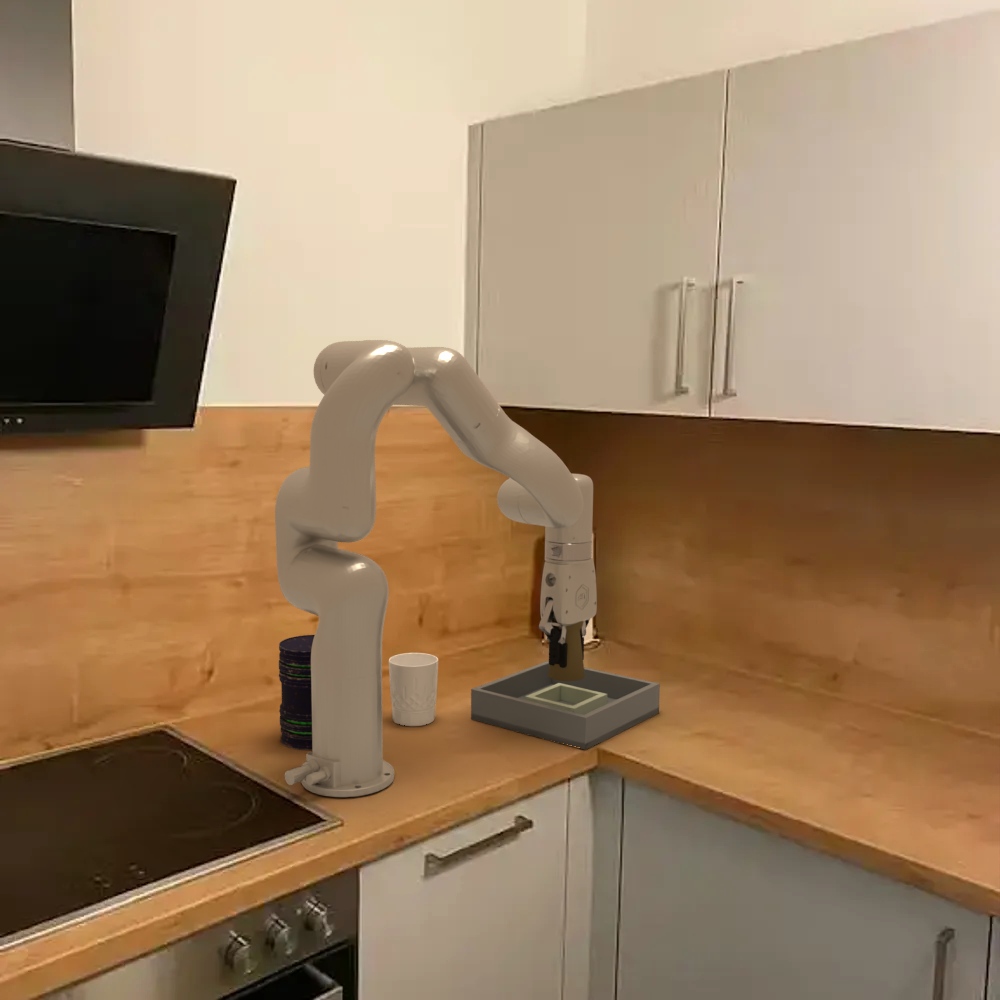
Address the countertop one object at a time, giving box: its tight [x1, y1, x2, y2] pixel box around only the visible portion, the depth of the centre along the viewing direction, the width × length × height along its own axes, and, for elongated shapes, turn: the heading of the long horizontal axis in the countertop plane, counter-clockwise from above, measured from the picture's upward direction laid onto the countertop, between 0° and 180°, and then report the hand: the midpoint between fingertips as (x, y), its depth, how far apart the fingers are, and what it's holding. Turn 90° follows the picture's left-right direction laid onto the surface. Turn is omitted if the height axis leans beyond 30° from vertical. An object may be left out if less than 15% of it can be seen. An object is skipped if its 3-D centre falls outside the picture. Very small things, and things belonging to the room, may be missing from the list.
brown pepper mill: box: [548, 618, 585, 681], centre depth 168 cm, size 6×6×11 cm
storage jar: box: [278, 634, 315, 751], centre depth 158 cm, size 10×10×15 cm
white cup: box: [388, 652, 439, 727], centre depth 167 cm, size 8×8×10 cm
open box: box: [470, 660, 661, 751], centre depth 170 cm, size 22×22×5 cm
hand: (566, 661), depth 169 cm, fingers closed on brown pepper mill, 4 cm apart
